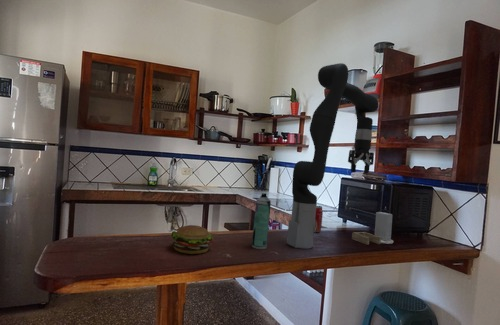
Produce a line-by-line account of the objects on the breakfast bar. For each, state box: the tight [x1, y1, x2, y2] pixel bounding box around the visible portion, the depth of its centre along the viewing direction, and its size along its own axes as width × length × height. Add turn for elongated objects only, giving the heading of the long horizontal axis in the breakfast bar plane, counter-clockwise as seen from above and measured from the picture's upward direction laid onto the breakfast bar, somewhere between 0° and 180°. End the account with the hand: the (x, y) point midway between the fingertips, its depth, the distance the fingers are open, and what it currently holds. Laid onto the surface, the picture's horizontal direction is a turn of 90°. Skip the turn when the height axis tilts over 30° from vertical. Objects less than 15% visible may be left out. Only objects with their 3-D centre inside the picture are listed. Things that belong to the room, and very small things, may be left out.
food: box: [170, 224, 214, 255], centre depth 109 cm, size 14×14×8 cm
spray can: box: [251, 192, 272, 250], centre depth 118 cm, size 6×6×20 cm
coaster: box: [380, 239, 394, 245], centre depth 146 cm, size 9×9×1 cm
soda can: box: [314, 205, 324, 233], centre depth 153 cm, size 7×7×12 cm
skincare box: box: [374, 211, 393, 241], centre depth 146 cm, size 6×4×12 cm
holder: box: [351, 231, 381, 245], centre depth 142 cm, size 8×9×3 cm
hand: (359, 172), depth 153 cm, fingers open, 8 cm apart
